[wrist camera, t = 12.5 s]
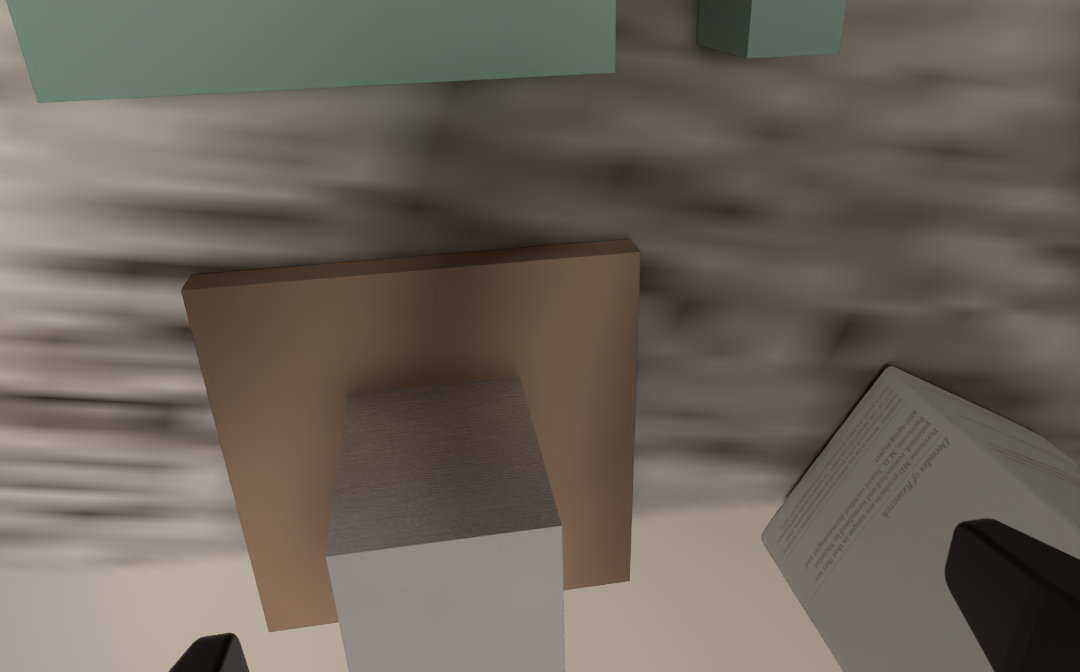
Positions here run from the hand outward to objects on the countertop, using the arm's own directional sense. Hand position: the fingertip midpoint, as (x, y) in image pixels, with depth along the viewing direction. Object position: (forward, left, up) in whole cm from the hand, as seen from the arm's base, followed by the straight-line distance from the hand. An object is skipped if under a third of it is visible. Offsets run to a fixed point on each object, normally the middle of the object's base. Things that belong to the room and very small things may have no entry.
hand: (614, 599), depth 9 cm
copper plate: (+2, +5, -12) cm, 13 cm away
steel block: (+2, +5, -11) cm, 12 cm away
